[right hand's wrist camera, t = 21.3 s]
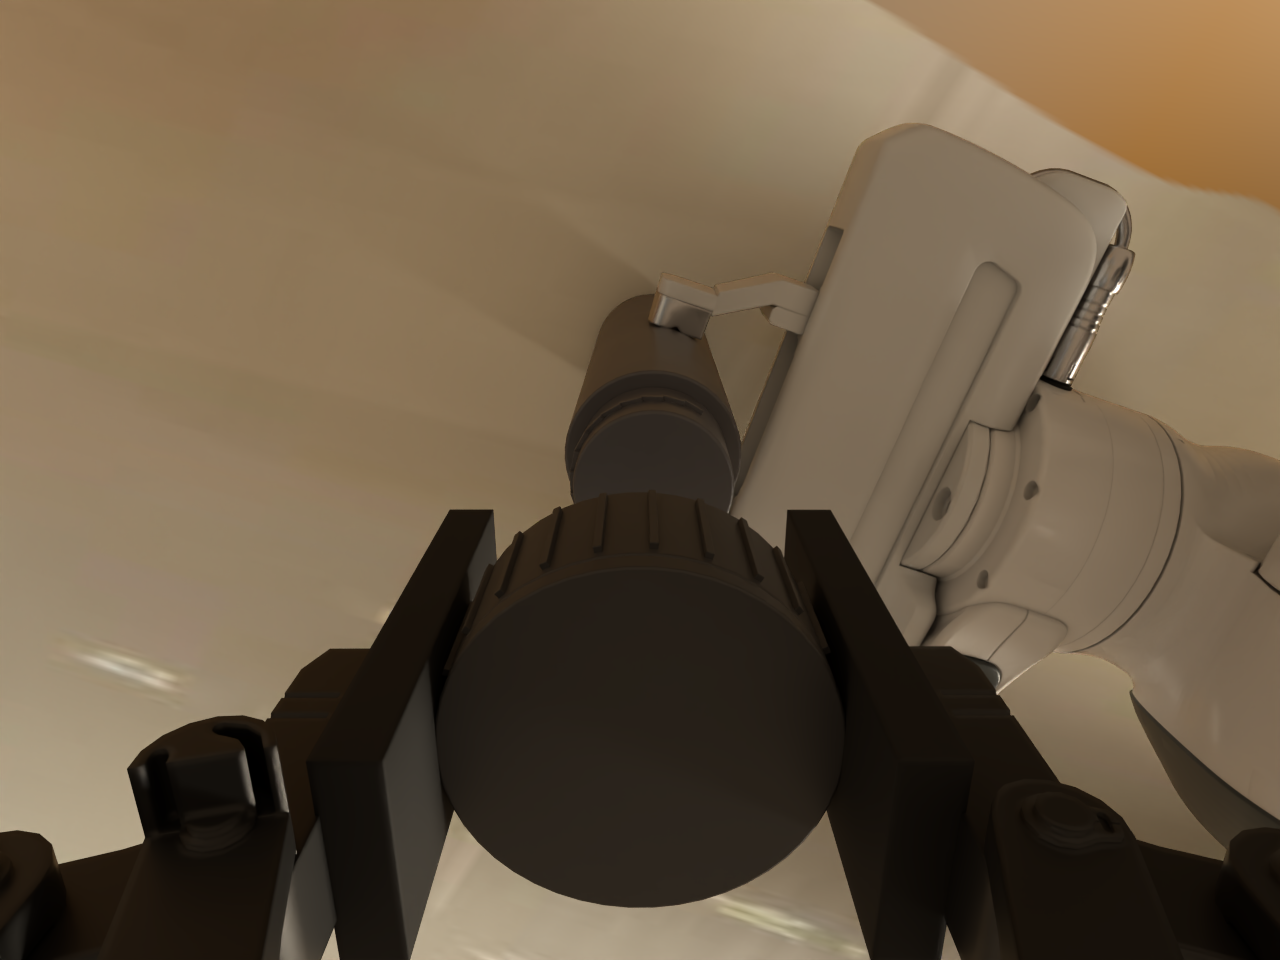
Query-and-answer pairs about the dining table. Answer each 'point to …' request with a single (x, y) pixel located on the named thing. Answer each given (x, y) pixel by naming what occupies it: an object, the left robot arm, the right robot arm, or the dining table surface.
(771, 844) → the lid
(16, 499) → the dining table surface
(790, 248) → the dining table surface
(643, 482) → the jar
